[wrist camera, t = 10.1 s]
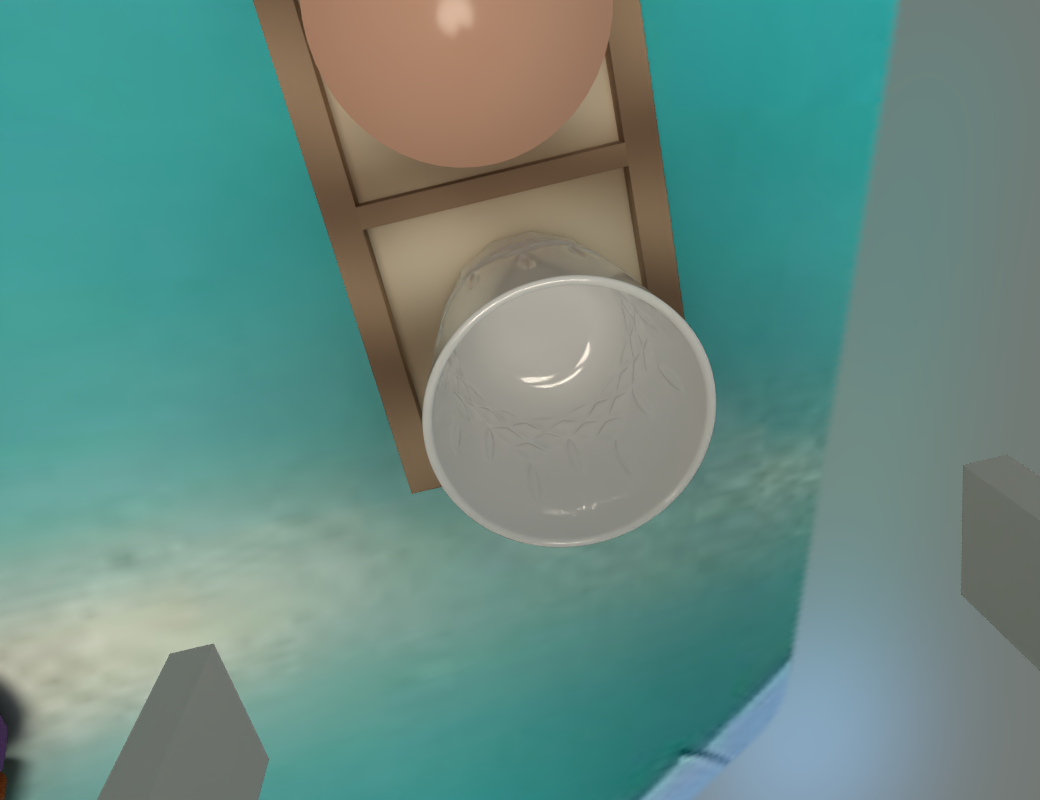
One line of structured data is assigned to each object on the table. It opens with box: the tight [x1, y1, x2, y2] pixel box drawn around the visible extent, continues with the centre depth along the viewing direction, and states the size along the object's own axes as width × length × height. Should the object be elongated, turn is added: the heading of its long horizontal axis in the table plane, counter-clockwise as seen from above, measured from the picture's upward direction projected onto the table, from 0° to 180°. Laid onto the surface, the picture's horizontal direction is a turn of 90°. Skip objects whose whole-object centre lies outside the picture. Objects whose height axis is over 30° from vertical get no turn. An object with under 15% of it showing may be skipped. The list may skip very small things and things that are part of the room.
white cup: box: [422, 231, 716, 547], centre depth 25 cm, size 8×8×10 cm
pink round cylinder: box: [300, 0, 613, 168], centre depth 21 cm, size 7×7×8 cm
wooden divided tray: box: [253, 0, 685, 494], centre depth 27 cm, size 22×12×2 cm, turn 13°
